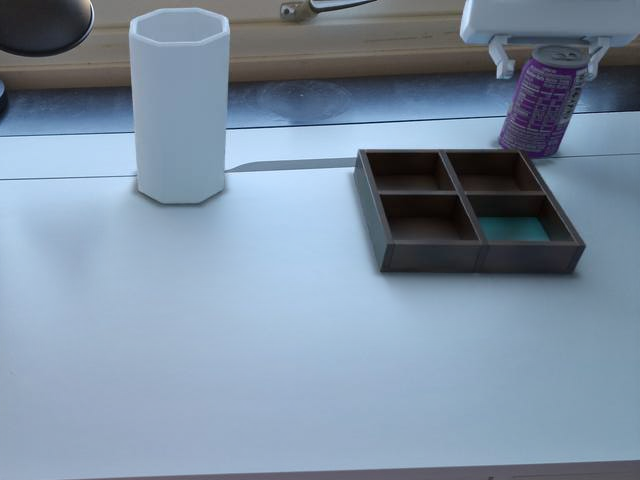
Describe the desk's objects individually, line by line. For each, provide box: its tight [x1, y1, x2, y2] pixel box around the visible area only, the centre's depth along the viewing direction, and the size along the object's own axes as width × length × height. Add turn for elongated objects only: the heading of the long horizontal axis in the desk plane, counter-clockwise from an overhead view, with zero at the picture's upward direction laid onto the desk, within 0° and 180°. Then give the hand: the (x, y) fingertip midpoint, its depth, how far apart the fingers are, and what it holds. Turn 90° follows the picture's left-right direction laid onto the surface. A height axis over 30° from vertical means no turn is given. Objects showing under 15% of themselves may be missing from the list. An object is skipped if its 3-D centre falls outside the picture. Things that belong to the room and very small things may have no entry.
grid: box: [353, 148, 587, 275], centre depth 77 cm, size 19×19×4 cm
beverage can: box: [497, 44, 592, 160], centre depth 84 cm, size 7×7×12 cm
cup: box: [128, 7, 231, 205], centre depth 79 cm, size 11×11×18 cm
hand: (545, 78), depth 84 cm, fingers open, 8 cm apart
